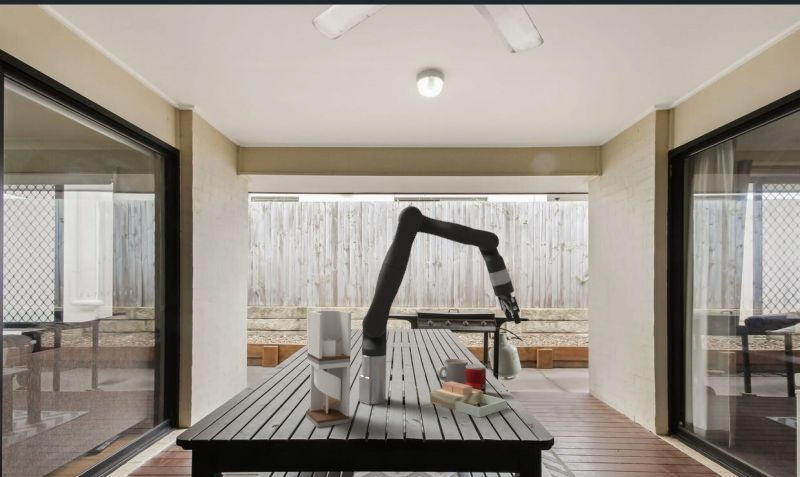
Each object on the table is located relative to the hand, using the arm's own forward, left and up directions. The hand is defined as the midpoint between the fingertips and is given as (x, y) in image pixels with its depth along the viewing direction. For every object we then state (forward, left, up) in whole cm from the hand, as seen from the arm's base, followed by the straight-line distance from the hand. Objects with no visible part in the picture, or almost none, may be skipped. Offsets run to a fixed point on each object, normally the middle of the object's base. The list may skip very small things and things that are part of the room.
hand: (514, 322), depth 178 cm
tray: (-19, +2, -29) cm, 35 cm away
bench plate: (-19, +13, -29) cm, 37 cm away
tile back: (-19, +15, -25) cm, 35 cm away
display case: (-67, +27, -30) cm, 78 cm away
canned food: (-4, +16, -30) cm, 34 cm away
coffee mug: (0, +32, -30) cm, 43 cm away
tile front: (-19, +10, -25) cm, 33 cm away
